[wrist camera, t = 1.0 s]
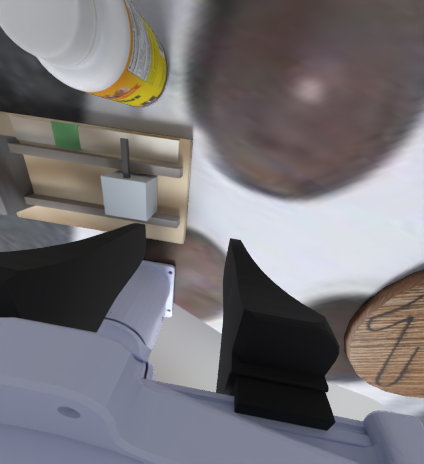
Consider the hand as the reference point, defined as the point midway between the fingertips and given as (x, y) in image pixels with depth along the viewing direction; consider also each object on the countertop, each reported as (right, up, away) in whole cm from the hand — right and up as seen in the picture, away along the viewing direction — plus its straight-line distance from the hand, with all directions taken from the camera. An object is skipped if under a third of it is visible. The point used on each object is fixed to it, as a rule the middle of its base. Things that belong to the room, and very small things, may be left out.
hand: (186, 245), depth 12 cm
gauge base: (-11, +6, +10) cm, 16 cm away
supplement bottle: (-5, +15, +5) cm, 16 cm away
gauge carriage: (-6, +6, +8) cm, 12 cm away
